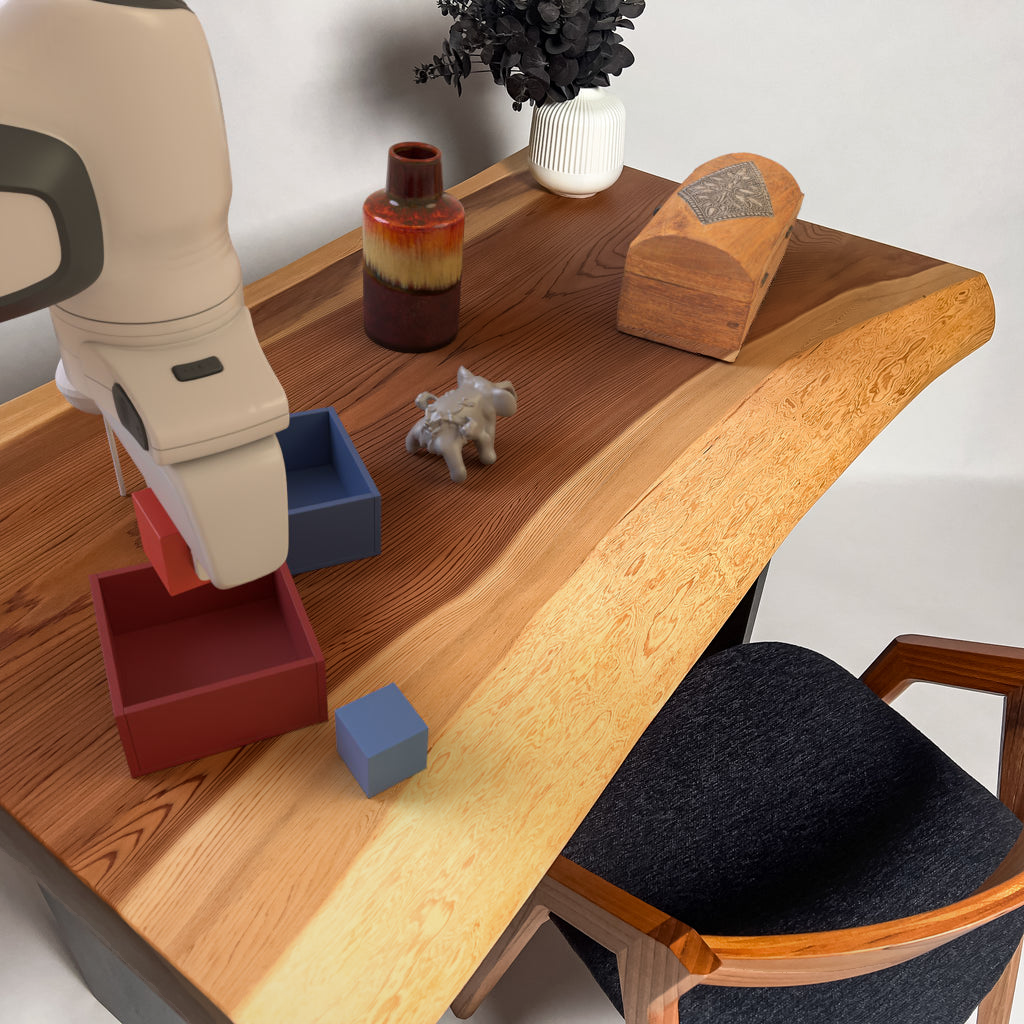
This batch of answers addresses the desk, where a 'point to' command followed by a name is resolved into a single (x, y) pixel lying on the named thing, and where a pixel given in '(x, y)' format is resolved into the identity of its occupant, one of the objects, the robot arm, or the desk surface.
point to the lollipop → (90, 407)
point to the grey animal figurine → (462, 420)
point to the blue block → (381, 739)
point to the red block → (164, 544)
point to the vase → (412, 254)
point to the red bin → (205, 664)
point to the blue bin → (327, 494)
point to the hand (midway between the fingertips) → (190, 540)
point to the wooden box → (710, 253)
